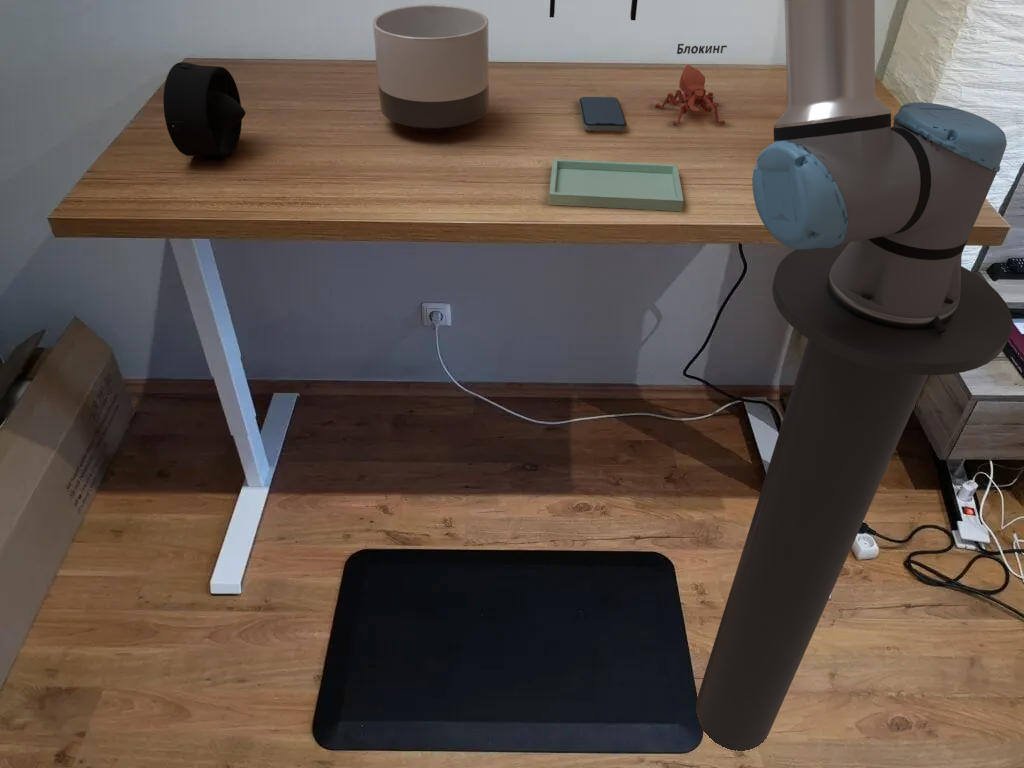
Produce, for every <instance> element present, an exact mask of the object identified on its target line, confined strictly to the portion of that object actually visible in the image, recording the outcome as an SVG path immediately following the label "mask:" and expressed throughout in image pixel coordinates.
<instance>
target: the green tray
mask: <svg viewBox="0 0 1024 768" xmlns="http://www.w3.org/2000/svg"><path fill="white" fill-rule="evenodd" d="M681 183H682V182H681V178H680V172H679V166H678V164H676V163H654V162H653V163H652V162H651V163H650V162H631V161H611V160H610V161H609V160H608V161H607V160H589V159H588V160H587V159H566V158H552V165H551V174H550V183H549V184H550V185H549V192H548V205H550V206H567V207H587V208H604V209H605V208H608V209H627V210H647V211H648V210H649V211H667V212H668V211H669V212H683V208H684V195H683V190H682V189H683V188H682V184H681Z"/></svg>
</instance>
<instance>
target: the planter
mask: <svg viewBox="0 0 1024 768" xmlns="http://www.w3.org/2000/svg"><path fill="white" fill-rule="evenodd" d="M372 31H373V40H374V41H373V42H374V51H375V52H374V53H375V65H376V74H377V84H378V95H379V106H380V111H381V114H382V115H383V116H384V117H385V118H387V119H388V120H390V121H392V122H394V123H397V124H400V125H403V126H406V127H409V128H411V129H413V130H417V131H421V132H425V133H444V132H449V131H452V130H456V129H458V128H460V127H463V126H465V125H466V124H470V123H473V122H475V121H478V120H479V119H481V118H483V117H484V116H485V115H486V114H487V113H488V111H489V109H490V77H489V75H490V74H489V73H490V69H489V68H490V67H489V60H490V59H489V58H490V57H489V51H490V50H489V45H490V44H489V19H488V17H486V15H485V14H483V13H481V12H480V11H477V10H475V9H472V8H467V7H463V6H458V5H457V6H456V5H449V4H417V5H407V6H400V7H396V8H392V9H389V10H386V11H384V12H381V13H380V14H377V16H375V17H374V19H373V20H372Z"/></svg>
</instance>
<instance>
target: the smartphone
mask: <svg viewBox="0 0 1024 768" xmlns="http://www.w3.org/2000/svg"><path fill="white" fill-rule="evenodd" d="M578 103H579V107H580V108H579V109H580V114H581V119H582V124H583V128H584V129H585V130H586V131H589V132H623V131H626V129H627V122H626V120H625V117H624V113H623V110H622V107H621V104H620V101H619V98H617V97H615V96H614V97H613V96H582V97H580V98H579V101H578Z"/></svg>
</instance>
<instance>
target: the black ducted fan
mask: <svg viewBox="0 0 1024 768" xmlns="http://www.w3.org/2000/svg"><path fill="white" fill-rule="evenodd" d="M163 87H164V88H163V97H162V98H163V102H162V103H163V114H164V115H163V116H164V121H165V125H166V128H167V132H168V135H169V137H170V139H171V141H172V144H173V145H174V147H175V149H176V150H178V152H179V153H181V154H182V155H184V156H187V157H198V158H200V159H206V160H222V159H227V158H229V157H231V156H232V155H233V154H234V152H235V150H236V149H237V147H238V144H239V142H240V138H241V134H242V133H241V132H242V125H243V122H242V121H243V119H244V117H245V115H246V114H247V113H246V110H245V109H244V107H243V106H242V103H241V102H242V101H241V97H240V93H239V88H238V86H237V83H236V81H235V79H234V77H233V75H232V74H231V73H230V71H229V70H228V69H227V68H225V67H224V66H219V65H202V64H201V65H200V64H195V63H191V62H185V61H184V62H183V61H180V62H177V63H175V64H174V65H172V67H171V68H170V69H169V70H168V73H167V76H166V78H165V82H164V86H163Z"/></svg>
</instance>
